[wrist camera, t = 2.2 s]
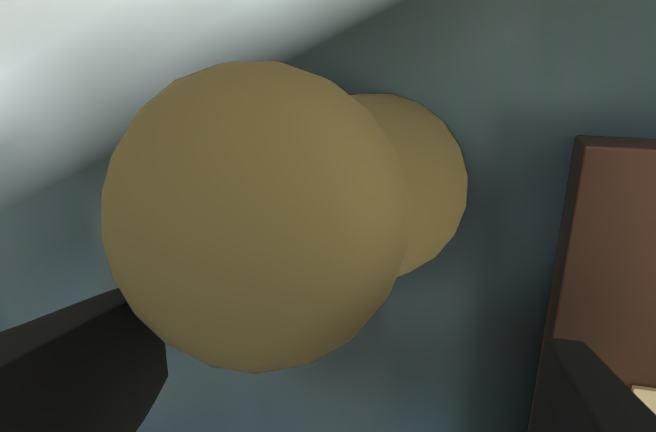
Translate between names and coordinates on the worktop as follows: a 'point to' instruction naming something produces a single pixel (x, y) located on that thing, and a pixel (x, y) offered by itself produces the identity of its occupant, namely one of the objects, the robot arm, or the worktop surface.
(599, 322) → the shelf
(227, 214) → the olive door knob
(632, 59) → the worktop surface
